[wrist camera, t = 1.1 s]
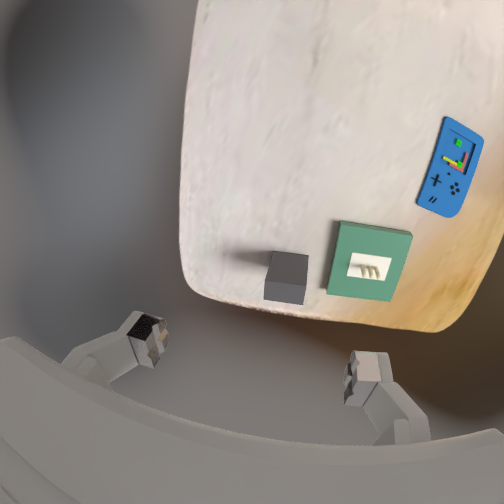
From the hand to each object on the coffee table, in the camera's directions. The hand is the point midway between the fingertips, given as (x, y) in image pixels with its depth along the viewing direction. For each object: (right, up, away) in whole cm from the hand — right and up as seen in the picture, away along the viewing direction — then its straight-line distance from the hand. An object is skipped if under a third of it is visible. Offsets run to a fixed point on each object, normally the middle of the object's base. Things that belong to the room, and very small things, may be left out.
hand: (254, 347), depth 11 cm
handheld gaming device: (+30, +17, +21) cm, 41 cm away
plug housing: (+6, +2, +35) cm, 36 cm away
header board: (+19, +2, +32) cm, 37 cm away
